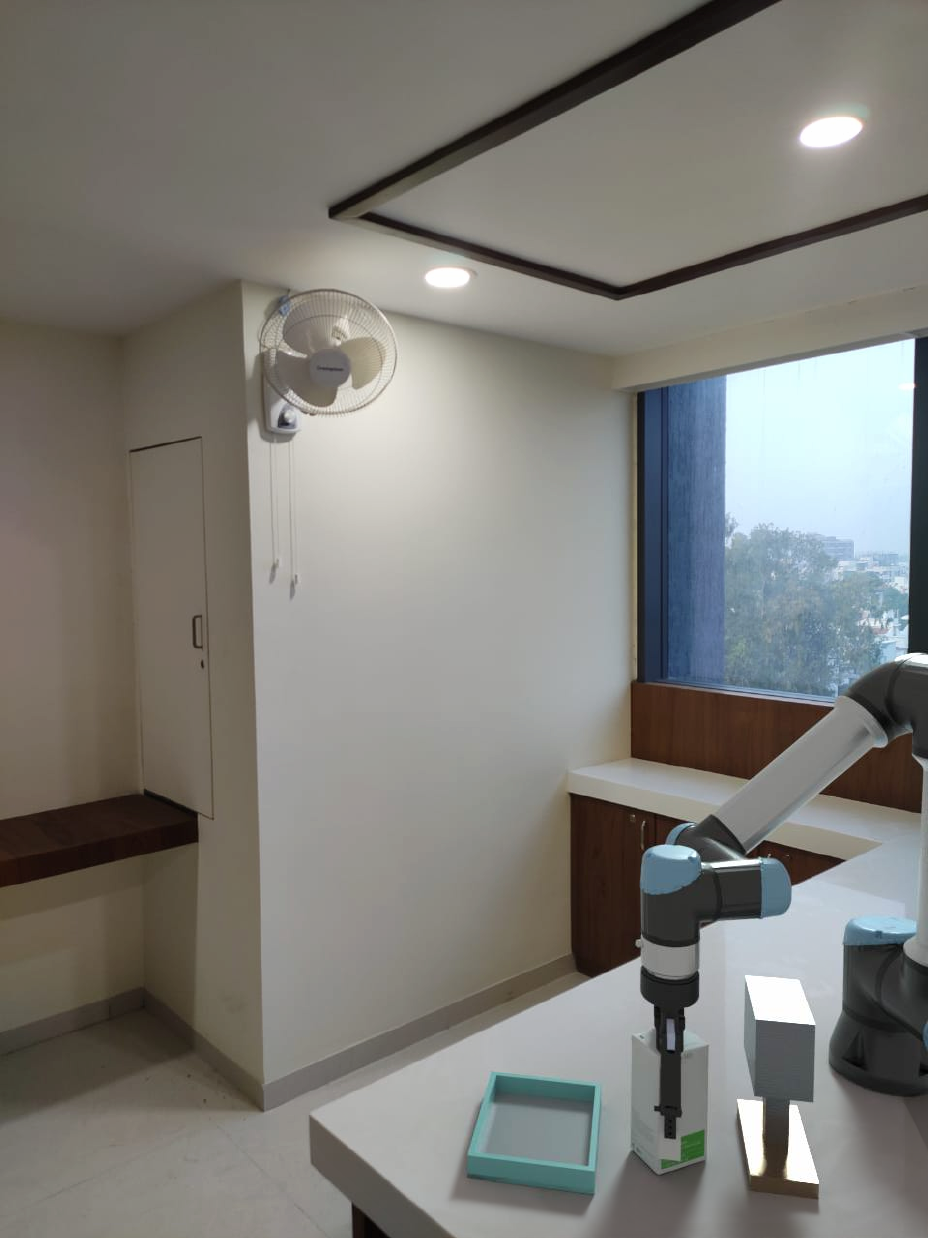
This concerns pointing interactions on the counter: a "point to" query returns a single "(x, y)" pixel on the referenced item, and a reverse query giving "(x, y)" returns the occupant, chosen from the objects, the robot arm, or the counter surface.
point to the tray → (537, 1133)
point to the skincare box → (648, 1096)
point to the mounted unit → (778, 1087)
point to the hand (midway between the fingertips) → (668, 1132)
